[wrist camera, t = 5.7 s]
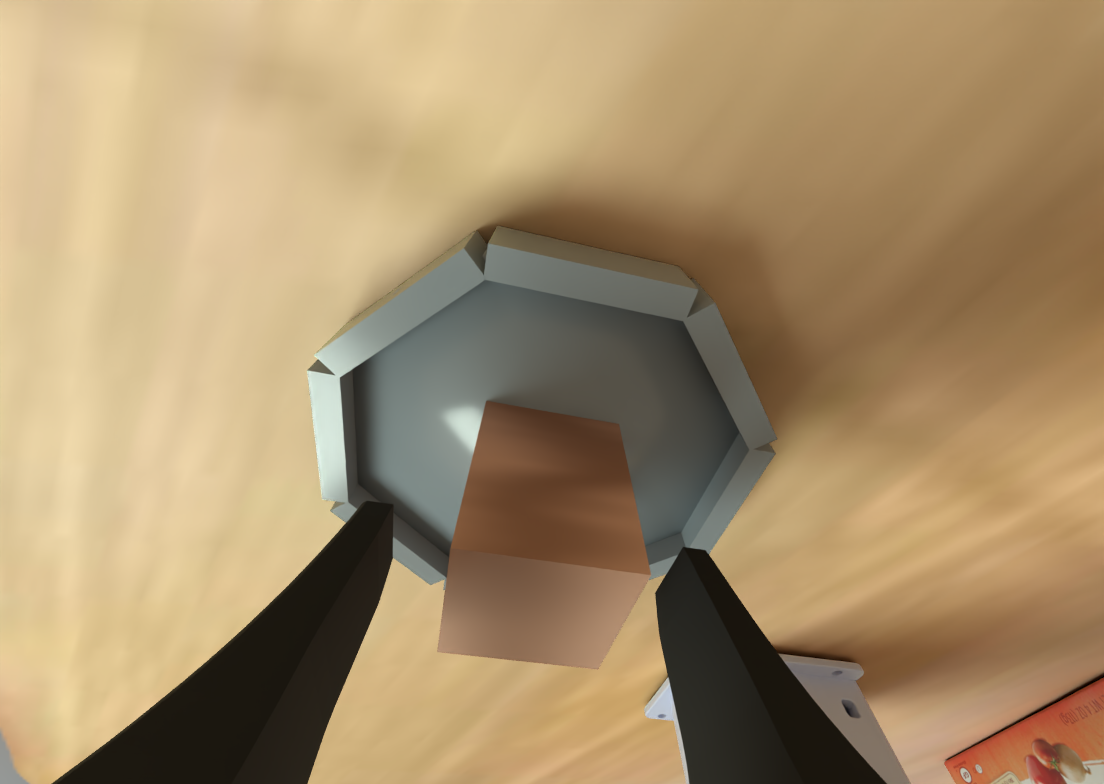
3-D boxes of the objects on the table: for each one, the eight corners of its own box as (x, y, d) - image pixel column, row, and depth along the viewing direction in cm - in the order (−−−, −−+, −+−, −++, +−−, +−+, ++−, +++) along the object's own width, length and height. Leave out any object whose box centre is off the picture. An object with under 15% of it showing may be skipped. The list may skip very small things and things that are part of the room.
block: (618, 424, 13) (651, 575, 8) (585, 512, 15) (598, 669, 11) (486, 400, 12) (450, 547, 8) (471, 496, 14) (437, 652, 10)
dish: (820, 298, 12) (860, 325, 10) (657, 577, 18) (666, 618, 17) (327, 187, 10) (287, 199, 9) (351, 535, 17) (331, 576, 15)
